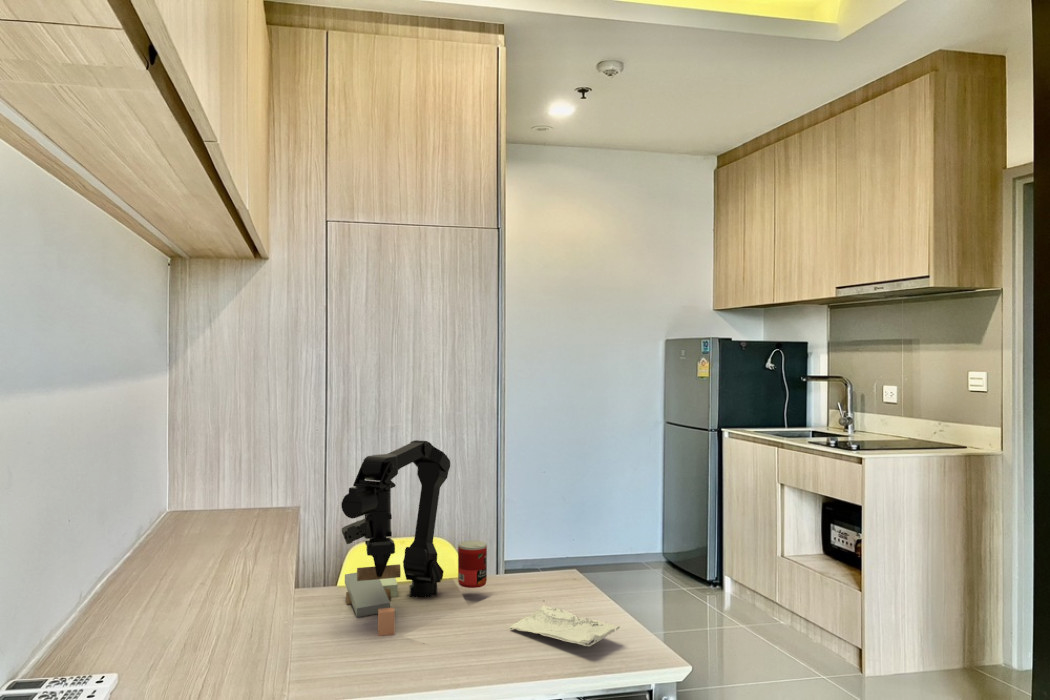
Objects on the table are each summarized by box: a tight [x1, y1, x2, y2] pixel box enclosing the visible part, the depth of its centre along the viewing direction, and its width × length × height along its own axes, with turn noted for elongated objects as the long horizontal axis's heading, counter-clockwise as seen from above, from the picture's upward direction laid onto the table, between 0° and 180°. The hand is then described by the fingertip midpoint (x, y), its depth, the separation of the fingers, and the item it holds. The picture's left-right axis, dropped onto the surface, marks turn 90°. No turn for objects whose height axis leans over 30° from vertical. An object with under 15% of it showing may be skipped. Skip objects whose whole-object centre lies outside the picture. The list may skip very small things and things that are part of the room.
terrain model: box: [509, 604, 620, 647], centre depth 164 cm, size 17×23×5 cm
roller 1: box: [356, 563, 402, 581], centre depth 169 cm, size 10×3×3 cm, turn 105°
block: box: [380, 578, 399, 598], centre depth 188 cm, size 11×9×3 cm
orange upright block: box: [377, 607, 396, 637], centre depth 161 cm, size 4×2×5 cm
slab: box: [344, 572, 391, 618], centre depth 179 cm, size 8×16×2 cm, turn 24°
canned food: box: [457, 540, 488, 589], centre depth 196 cm, size 8×8×11 cm
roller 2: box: [345, 589, 392, 605], centre depth 182 cm, size 11×3×3 cm, turn 106°
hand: (378, 574), depth 169 cm, fingers closed on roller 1, 3 cm apart
